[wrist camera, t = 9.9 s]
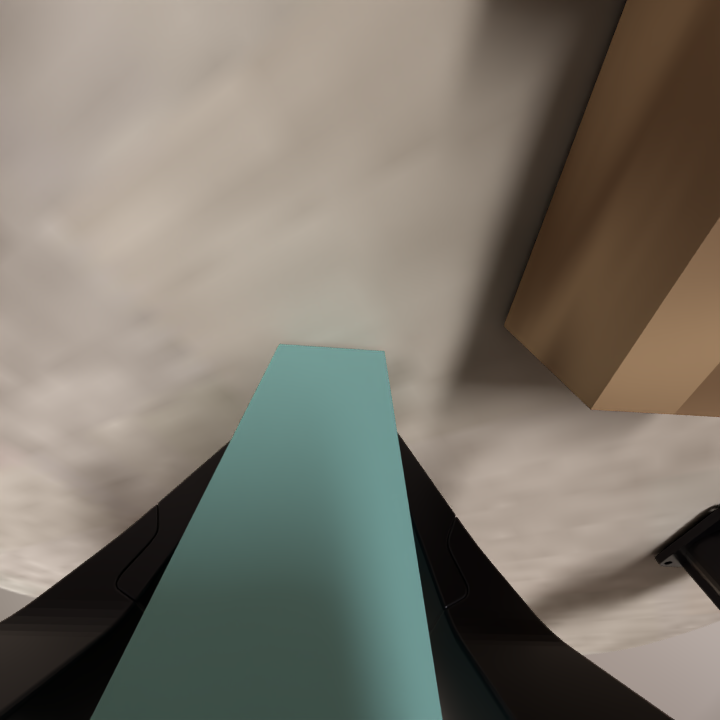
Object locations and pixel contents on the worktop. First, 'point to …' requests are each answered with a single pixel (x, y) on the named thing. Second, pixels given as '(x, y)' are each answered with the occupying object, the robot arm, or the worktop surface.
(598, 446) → the worktop surface
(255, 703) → the turquoise rectangular prism
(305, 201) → the worktop surface
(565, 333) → the socket block
